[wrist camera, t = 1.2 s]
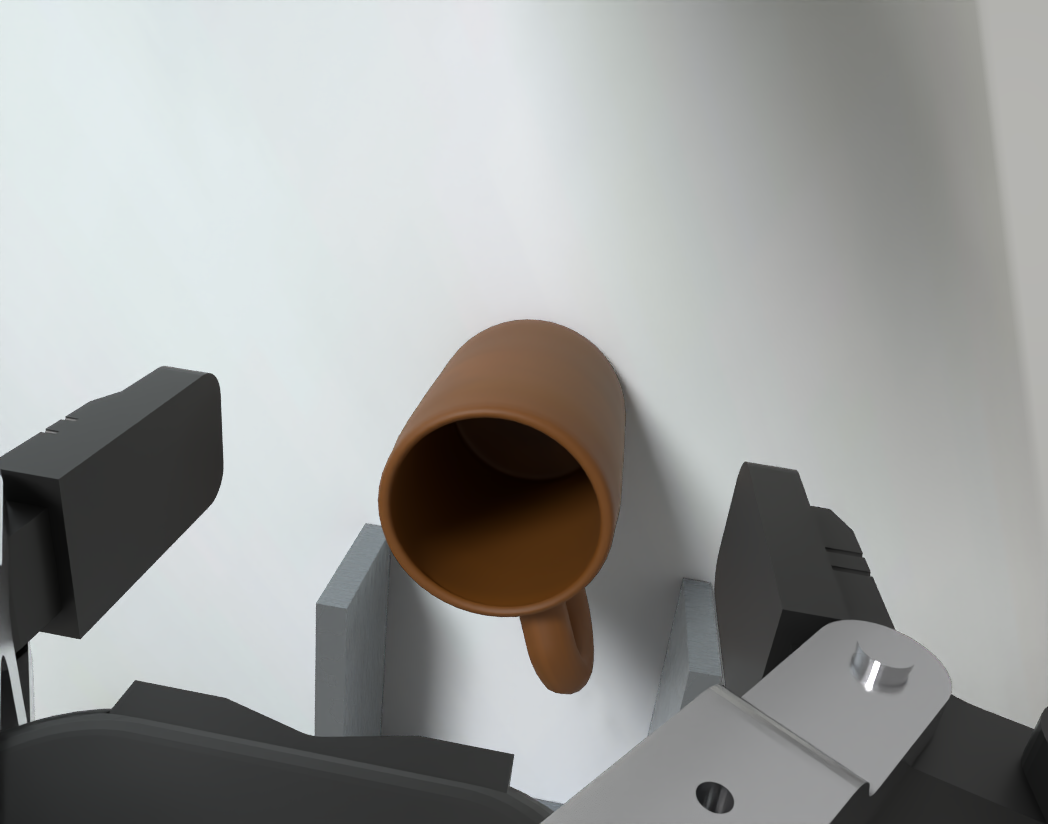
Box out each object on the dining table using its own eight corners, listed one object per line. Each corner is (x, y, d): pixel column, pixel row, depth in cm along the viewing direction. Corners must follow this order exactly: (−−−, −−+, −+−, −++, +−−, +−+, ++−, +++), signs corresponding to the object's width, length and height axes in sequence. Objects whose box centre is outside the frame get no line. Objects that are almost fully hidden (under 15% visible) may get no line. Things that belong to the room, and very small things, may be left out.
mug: (675, 553, 35) (683, 710, 27) (508, 586, 37) (466, 743, 29) (597, 290, 31) (577, 375, 23) (415, 340, 33) (333, 437, 25)
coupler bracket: (365, 523, 37) (308, 616, 31) (711, 583, 36) (724, 692, 29) (355, 780, 43) (306, 900, 37) (649, 838, 42) (649, 973, 36)
